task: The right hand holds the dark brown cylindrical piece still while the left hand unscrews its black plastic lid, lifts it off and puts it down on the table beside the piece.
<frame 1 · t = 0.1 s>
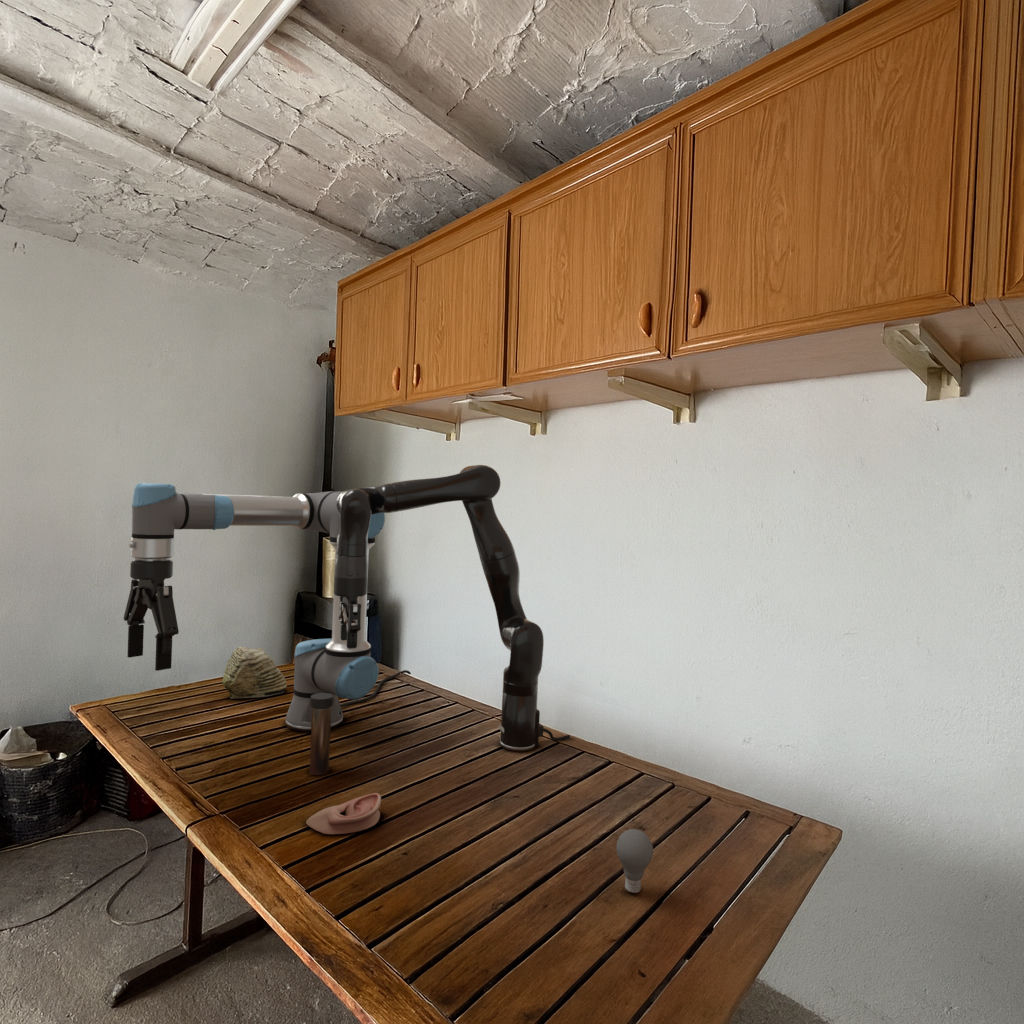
left hand: (148, 662, 129), 28 cm above the table, tool pointing down, fingers open, 13 cm apart
right hand: (348, 643, 148), 29 cm above the table, tool pointing down, fingers open, 8 cm apart
lid: (322, 697, 146), point 17 cm above the table, screwed on, not yet turned
dark brown cylindrical piece: (319, 771, 146), on the table
anatomical model: (344, 821, 124), on the table
fossil: (254, 694, 198), on the table
light bulb: (632, 891, 106), on the table
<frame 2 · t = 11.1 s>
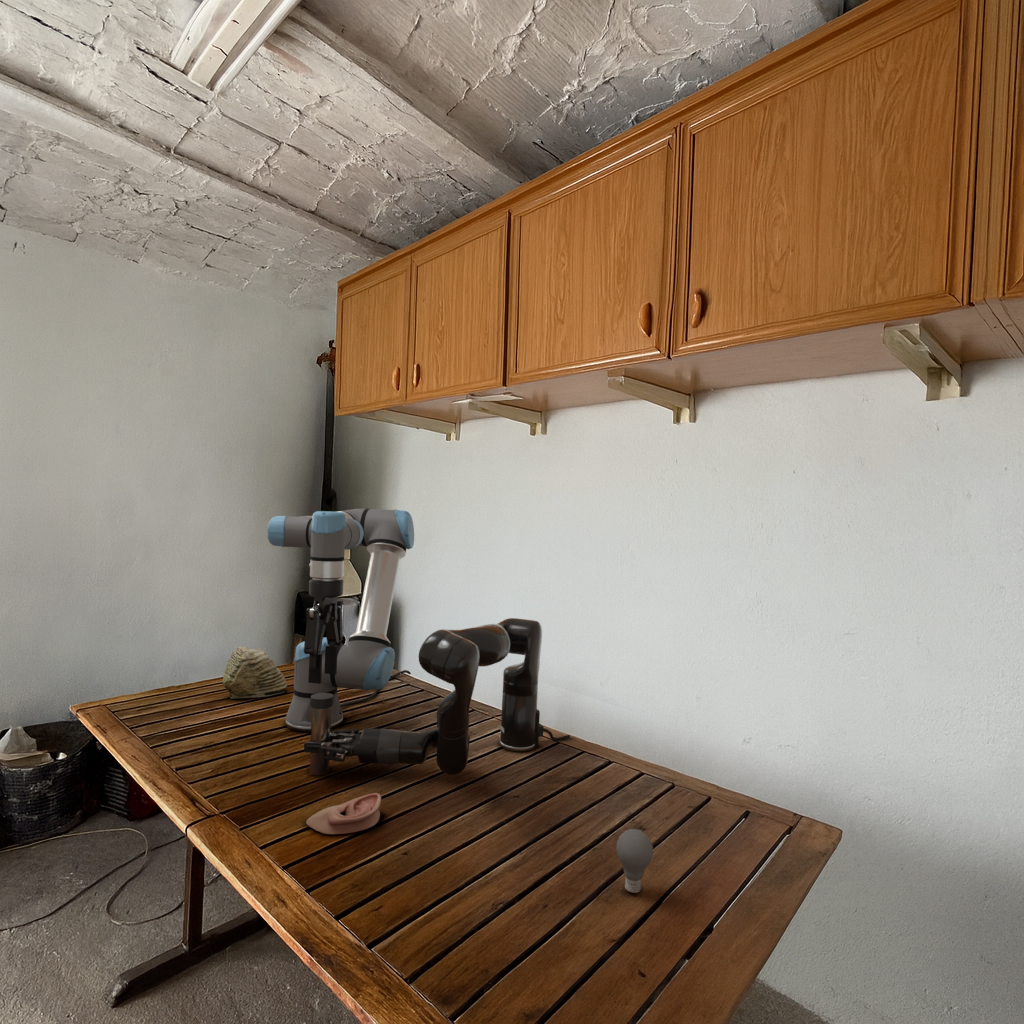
left hand: (322, 677, 146), 22 cm above the table, tool pointing down, fingers open, 7 cm apart
right hand: (308, 742, 146), 6 cm above the table, tool horizontal, fingers closed on dark brown cylindrical piece, 4 cm apart
dark brown cylindrical piece: (319, 771, 146), on the table, touching right hand
everything else where it was.
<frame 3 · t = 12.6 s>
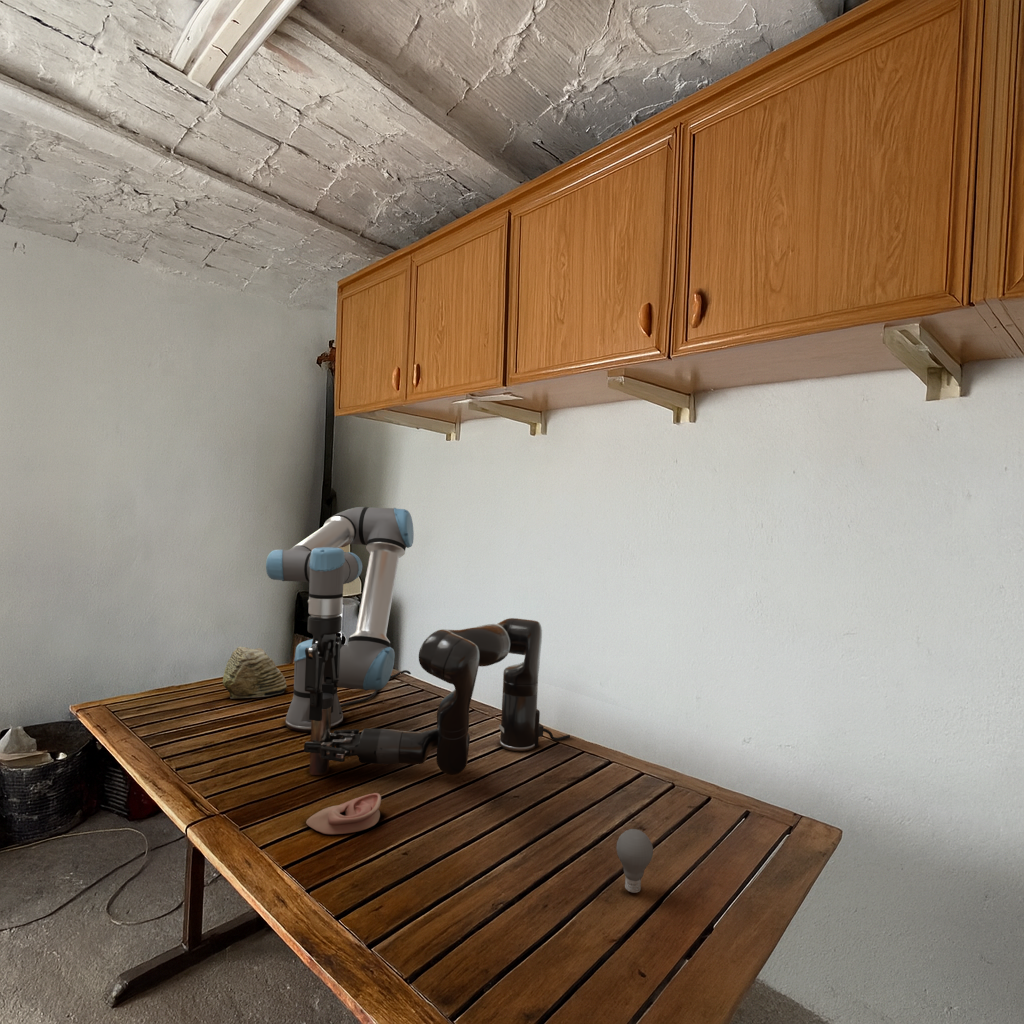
left hand: (321, 715, 146), 13 cm above the table, tool pointing down, fingers closed on lid, 5 cm apart
right hand: (308, 742, 146), 6 cm above the table, tool horizontal, fingers closed on dark brown cylindrical piece, 4 cm apart
lid: (322, 697, 146), point 17 cm above the table, screwed on, not yet turned, touching left hand
dark brown cylindrical piece: (319, 771, 146), on the table, touching right hand
everything else where it was.
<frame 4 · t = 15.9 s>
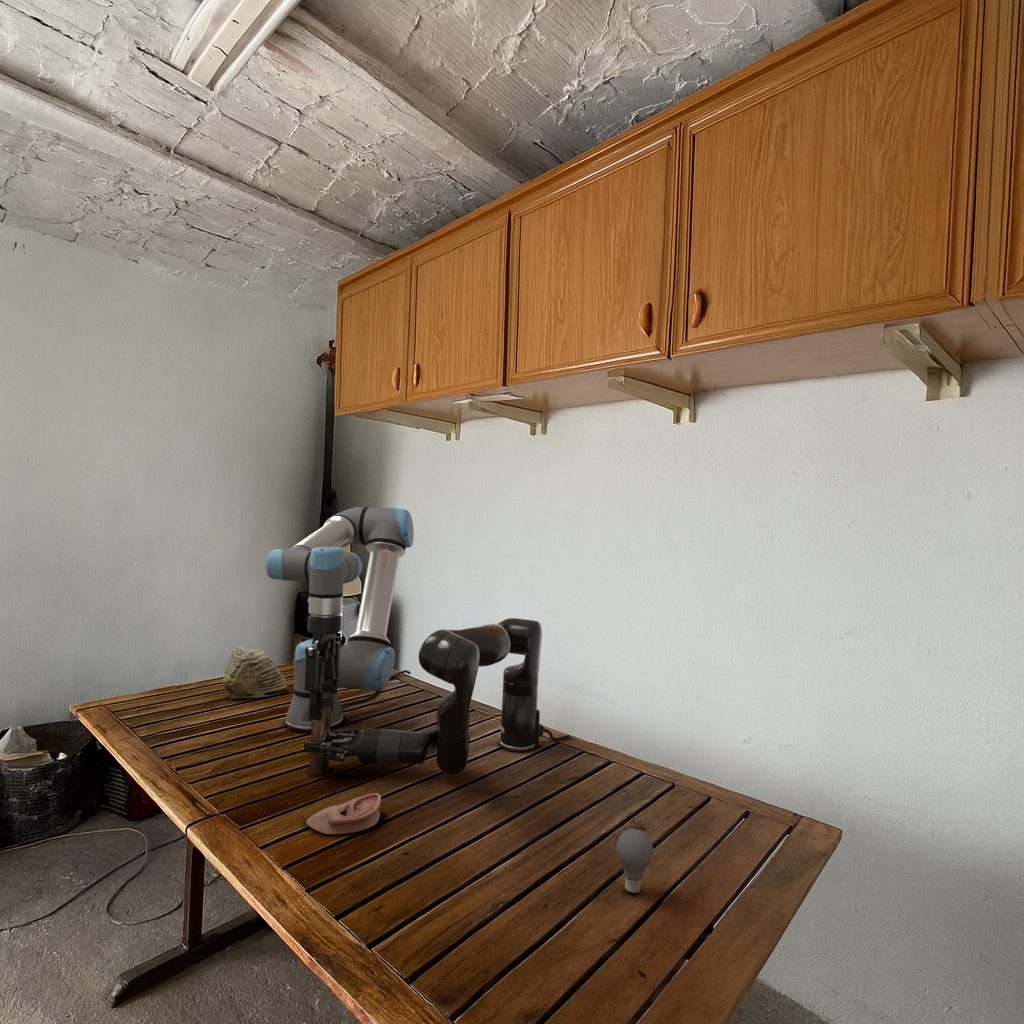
left hand: (321, 715, 146), 13 cm above the table, tool pointing down, fingers closed on lid, 5 cm apart
right hand: (308, 742, 146), 6 cm above the table, tool horizontal, fingers closed on dark brown cylindrical piece, 4 cm apart
lid: (322, 696, 146), point 17 cm above the table, turned 84° so far, risen 0.1 cm, still on its thread, touching left hand
dark brown cylindrical piece: (319, 771, 146), on the table, touching right hand
everything else where it was.
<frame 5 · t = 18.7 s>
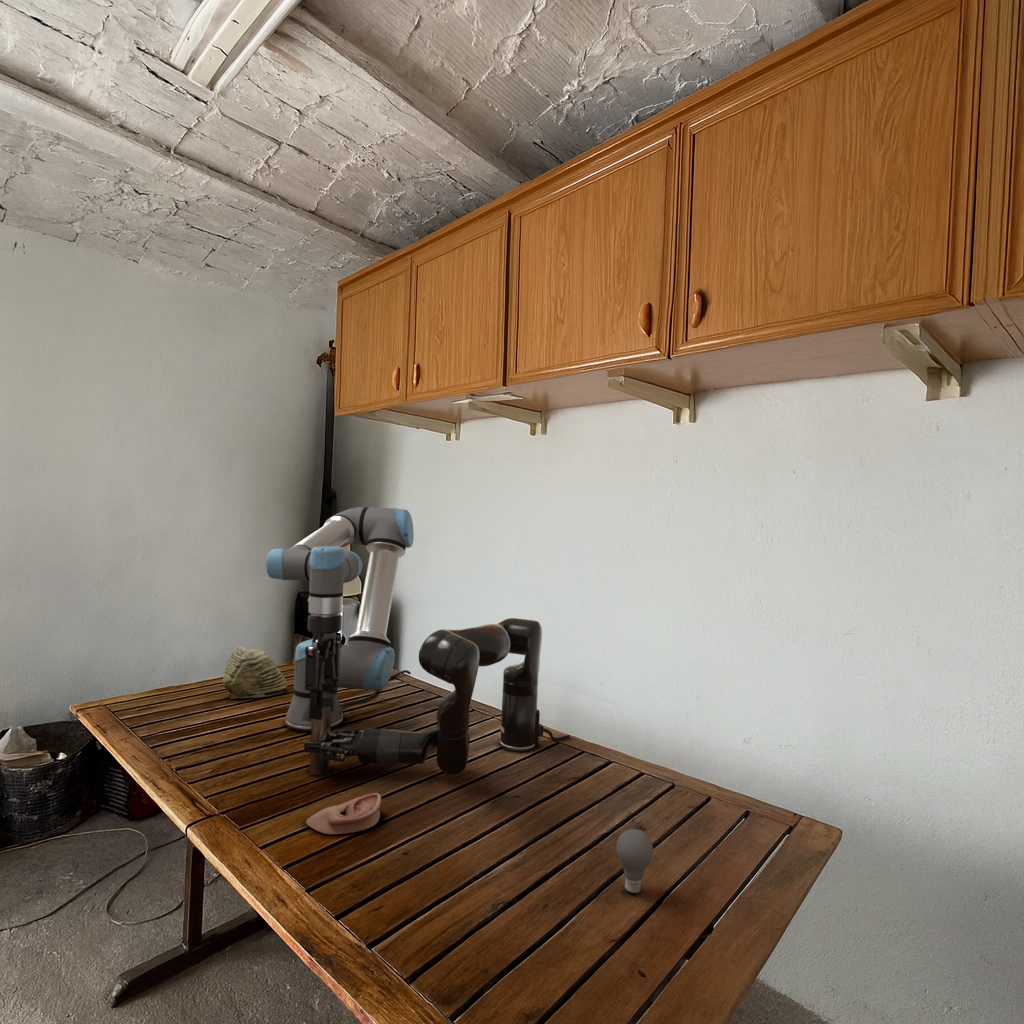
left hand: (321, 714, 146), 13 cm above the table, tool pointing down, fingers closed on lid, 5 cm apart
right hand: (308, 742, 146), 6 cm above the table, tool horizontal, fingers closed on dark brown cylindrical piece, 4 cm apart
lid: (322, 696, 146), point 17 cm above the table, turned 167° so far, risen 0.3 cm, still on its thread, touching left hand
dark brown cylindrical piece: (319, 771, 146), on the table, touching right hand
everything else where it was.
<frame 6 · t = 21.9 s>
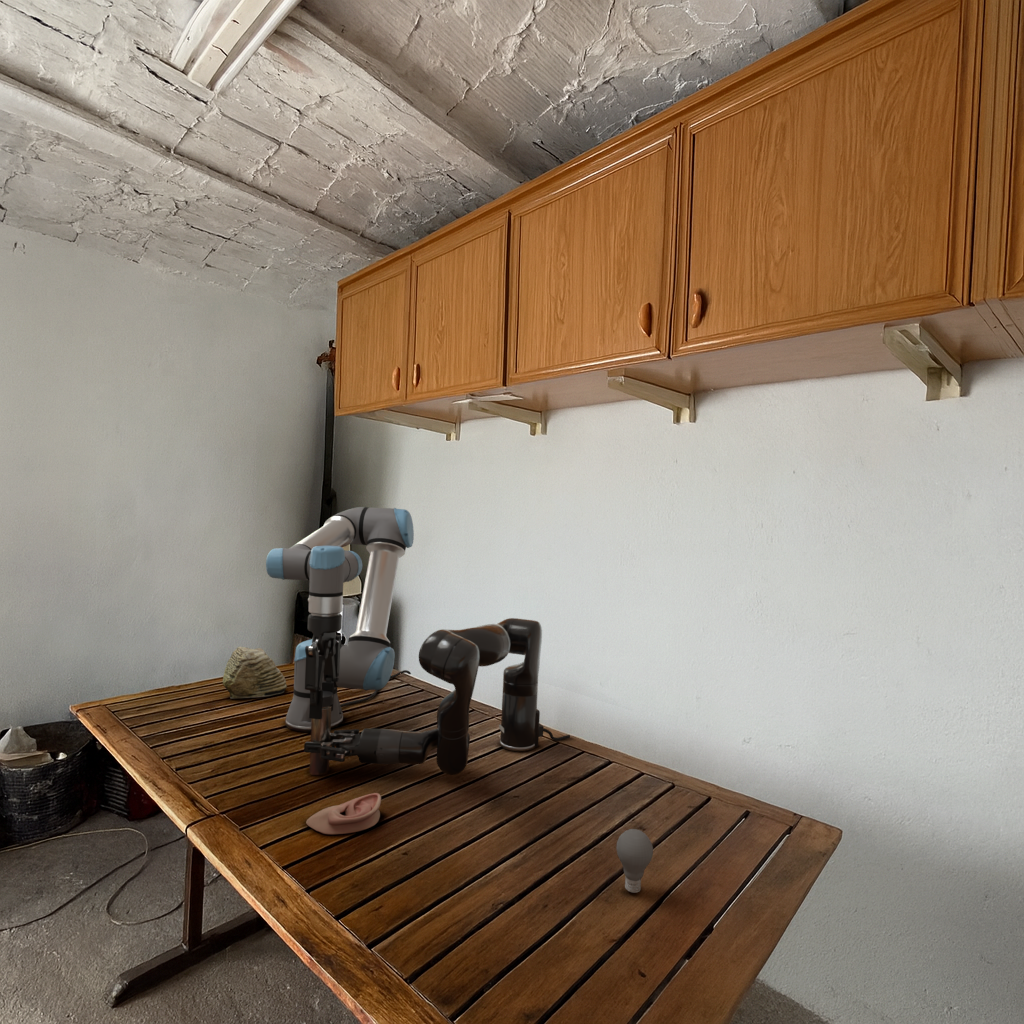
left hand: (321, 713, 146), 13 cm above the table, tool pointing down, fingers closed on lid, 5 cm apart
right hand: (308, 742, 146), 6 cm above the table, tool horizontal, fingers closed on dark brown cylindrical piece, 4 cm apart
lid: (322, 695, 146), point 18 cm above the table, turned 251° so far, risen 0.4 cm, still on its thread, touching left hand
dark brown cylindrical piece: (319, 771, 146), on the table, touching right hand
everything else where it was.
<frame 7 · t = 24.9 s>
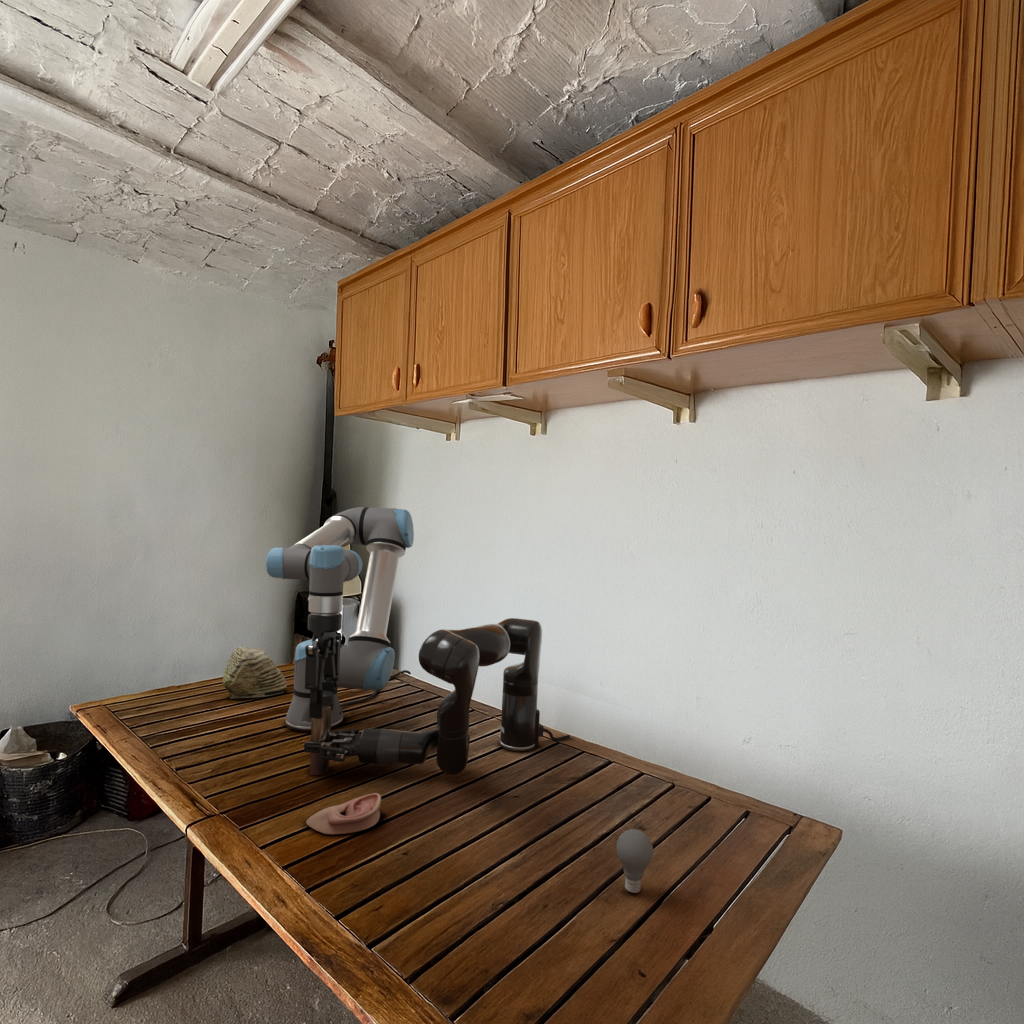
left hand: (321, 713, 146), 13 cm above the table, tool pointing down, fingers closed on lid, 5 cm apart
right hand: (308, 742, 146), 6 cm above the table, tool horizontal, fingers closed on dark brown cylindrical piece, 4 cm apart
lid: (322, 695, 146), point 18 cm above the table, turned 335° so far, risen 0.5 cm, still on its thread, touching left hand
dark brown cylindrical piece: (319, 771, 146), on the table, touching right hand
everything else where it was.
when the left hand's fingers open (0 cm above the table, at t = 34.7 s): lid drops 3 cm, point 2 cm above the table.
when the right hand's fingers open (7 cm above the table, at t = 35.3 s): dark brown cylindrical piece stays where it is, on the table.
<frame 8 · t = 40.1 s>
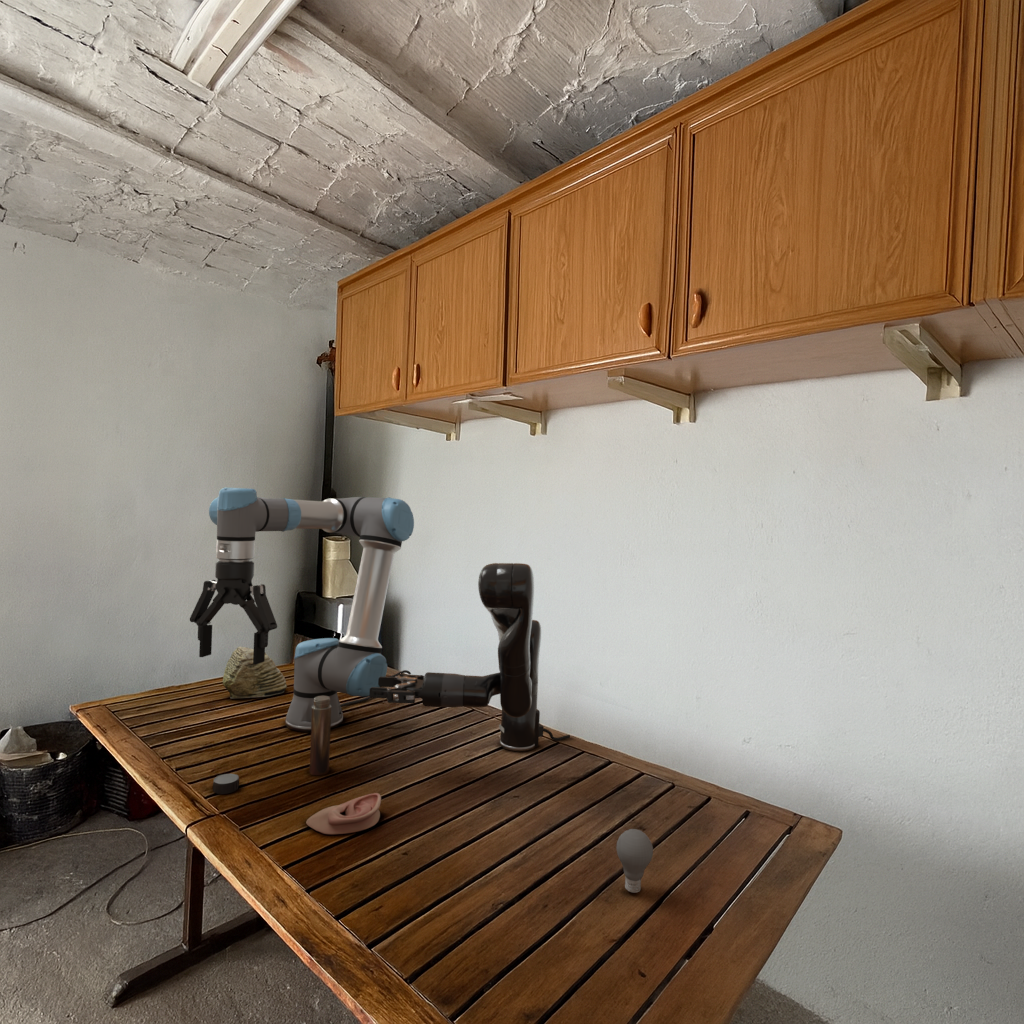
left hand: (231, 659, 135), 28 cm above the table, tool pointing down, fingers open, 13 cm apart
right hand: (374, 686, 145), 20 cm above the table, tool horizontal, fingers open, 8 cm apart
lid: (226, 780, 135), point 2 cm above the table, off its thread
dark brown cylindrical piece: (319, 771, 146), on the table
everything else where it was.
at the end: lid came off its thread; lid point 1.8 cm above the table; the left hand is holding nothing; the right hand is holding nothing; dark brown cylindrical piece tilted 0°; dark brown cylindrical piece moved 0.0 cm from its start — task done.
